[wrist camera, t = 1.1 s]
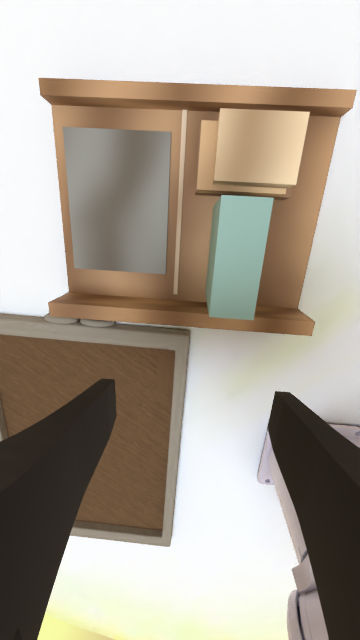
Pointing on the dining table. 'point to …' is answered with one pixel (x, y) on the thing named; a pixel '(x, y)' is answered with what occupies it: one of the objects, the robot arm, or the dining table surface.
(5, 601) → the robot arm
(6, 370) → the clipboard
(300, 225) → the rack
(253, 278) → the rectangular block
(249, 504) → the dining table surface
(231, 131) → the offcut stack
